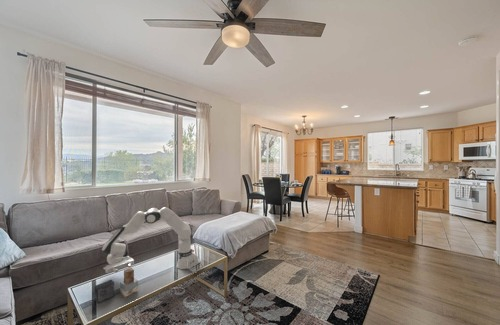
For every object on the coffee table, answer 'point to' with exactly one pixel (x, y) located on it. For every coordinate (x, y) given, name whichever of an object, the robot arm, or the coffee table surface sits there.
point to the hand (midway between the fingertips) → (123, 268)
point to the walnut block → (128, 275)
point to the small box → (104, 291)
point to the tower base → (128, 291)
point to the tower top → (128, 285)
